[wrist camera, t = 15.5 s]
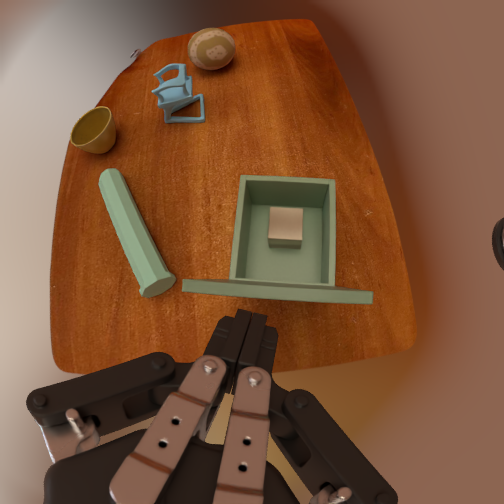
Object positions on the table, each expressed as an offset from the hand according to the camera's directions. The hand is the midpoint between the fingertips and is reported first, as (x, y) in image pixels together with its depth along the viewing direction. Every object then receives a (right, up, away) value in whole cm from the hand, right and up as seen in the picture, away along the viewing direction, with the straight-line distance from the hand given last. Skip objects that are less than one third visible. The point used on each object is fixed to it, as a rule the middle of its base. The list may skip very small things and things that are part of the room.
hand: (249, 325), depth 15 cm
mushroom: (-9, +49, +44) cm, 66 cm away
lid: (+3, +1, +12) cm, 12 cm away
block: (+5, +6, +30) cm, 31 cm away
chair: (-13, +32, +40) cm, 53 cm away
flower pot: (-31, +27, +40) cm, 58 cm away
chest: (+5, +4, +30) cm, 31 cm away
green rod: (-20, +8, +34) cm, 40 cm away
